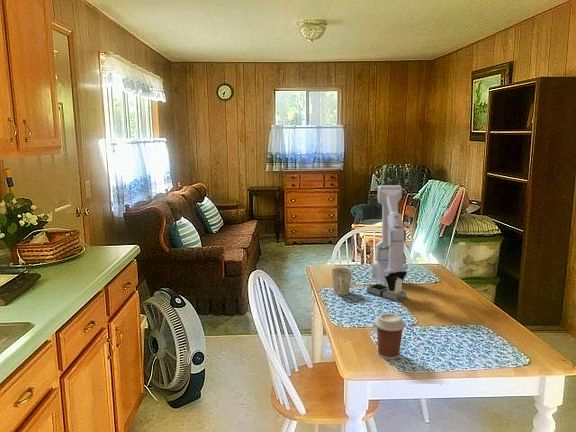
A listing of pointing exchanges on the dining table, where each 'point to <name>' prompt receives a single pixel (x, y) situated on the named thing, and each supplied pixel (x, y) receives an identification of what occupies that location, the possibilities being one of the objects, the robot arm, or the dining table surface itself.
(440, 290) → the dining table surface
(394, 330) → the coffee cup
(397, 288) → the plug
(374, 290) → the panel
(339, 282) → the mug
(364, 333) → the dining table surface
